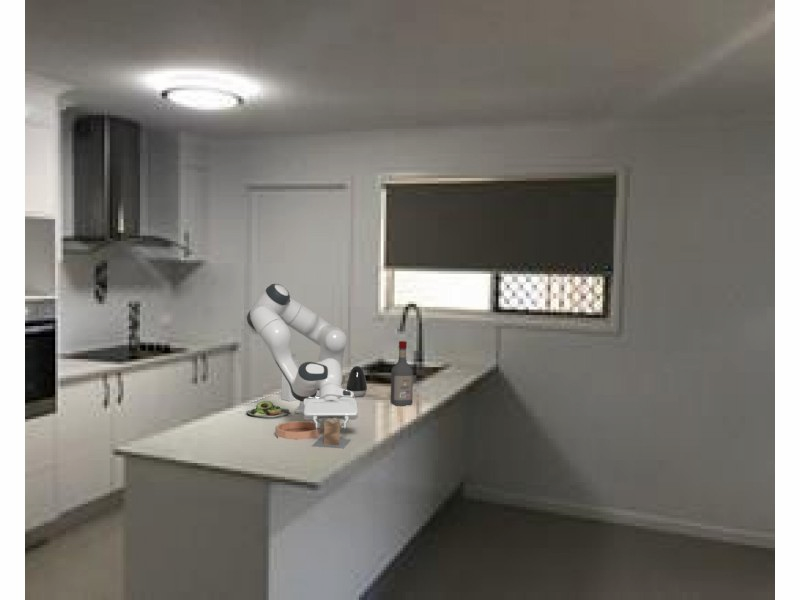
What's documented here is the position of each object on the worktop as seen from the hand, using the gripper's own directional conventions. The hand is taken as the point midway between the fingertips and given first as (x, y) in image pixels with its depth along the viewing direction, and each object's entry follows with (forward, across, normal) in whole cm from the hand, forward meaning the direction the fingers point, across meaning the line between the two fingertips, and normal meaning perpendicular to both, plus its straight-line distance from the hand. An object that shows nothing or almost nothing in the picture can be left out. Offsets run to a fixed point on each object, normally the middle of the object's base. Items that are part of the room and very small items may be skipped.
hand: (330, 428), depth 243 cm
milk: (-51, -19, +60) cm, 81 cm away
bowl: (-5, -12, +14) cm, 19 cm away
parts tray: (+5, 0, +4) cm, 6 cm away
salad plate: (-30, -27, +40) cm, 57 cm away
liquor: (-44, +34, +53) cm, 76 cm away
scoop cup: (+4, 0, +4) cm, 5 cm away
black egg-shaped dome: (-57, +14, +66) cm, 88 cm away
